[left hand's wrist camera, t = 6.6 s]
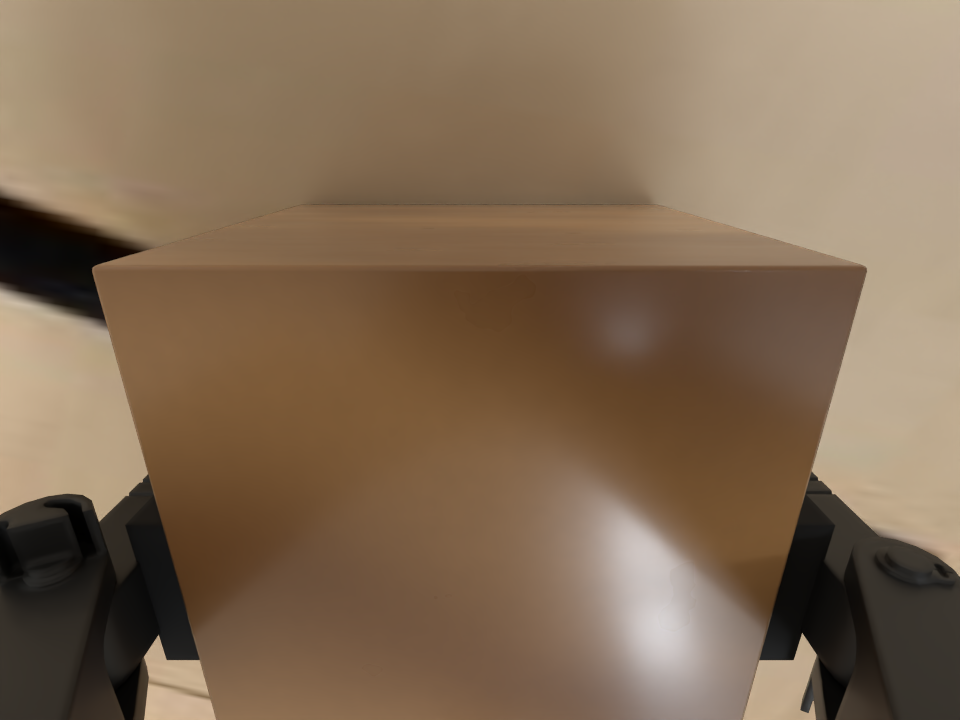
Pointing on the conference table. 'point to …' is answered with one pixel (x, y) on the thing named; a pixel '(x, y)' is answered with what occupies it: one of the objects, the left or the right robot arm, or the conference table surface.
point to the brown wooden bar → (479, 453)
